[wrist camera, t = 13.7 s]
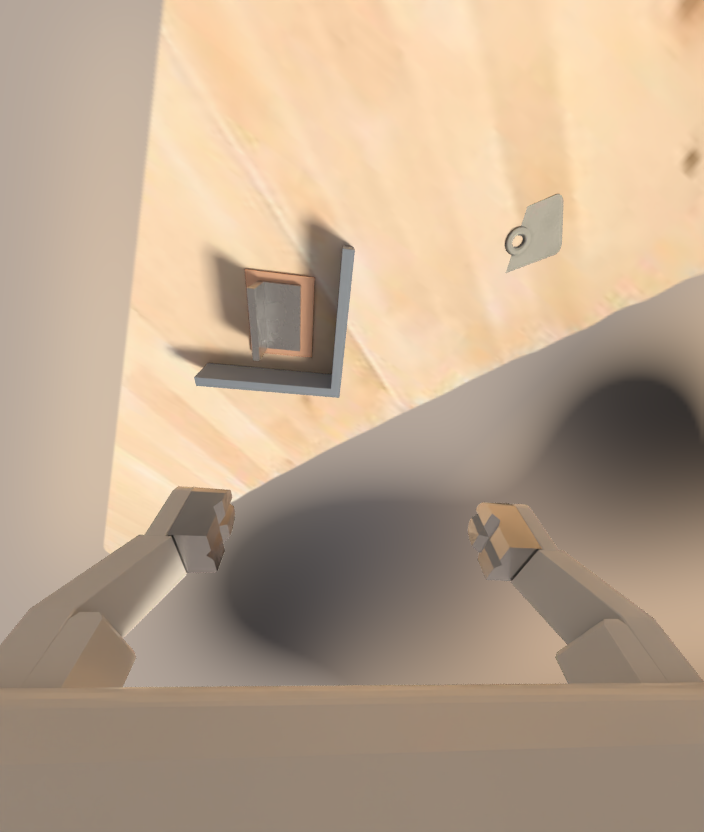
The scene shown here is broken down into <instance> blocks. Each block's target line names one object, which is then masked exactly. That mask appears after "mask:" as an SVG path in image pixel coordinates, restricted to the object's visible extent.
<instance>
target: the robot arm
mask: <svg viewBox="0 0 704 832" xmlns="http://www.w3.org/2000/svg"><path fill="white" fill-rule="evenodd" d="M231 499H232V494H231V490H224V489H211V488H198V487H181V486H178V487H177V488H175V489H174V490H173V491H172V493H171V494H170V496H169V497H168V499H167V501H166V502H165V504H164V505H163V507H162V508H161V510H160V512H159V513H158V515H157V516H156V518H155V519H154V521H153V523H152V524H151V526H150V527H149V529H148V530H147V532H146V534H145V535H138V536H137V537H135V538H134V539H132V540H131V541H129V542H128V543H126V544H125V545H123V546H122V547H120V548H119V549H117V550H116V551H114V552H113V553H111V554H110V555H109V556H107V557H106V558H104V559H103V560H101V561H100V562H98V563H97V564H95V565H94V566H92V567H91V568H89V569H88V570H86V571H85V572H84V573H82V574H80V575H79V576H77V577H76V578H74V579H73V580H72V581H70V582H69V583H67V584H66V585H64V586H63V587H61V588H60V589H58V590H57V591H55V592H54V593H52V594H51V595H49V596H48V597H46V598H45V599H43V600H42V601H41V602H39V603H38V604H36V605H35V606H33V607H32V608H30V609H29V610H28V612H27V613H26V614H25V615H24V616H23V618H22V619H21V620H20V621H19V623H18V624H17V625H16V626H15V628H14V629H13V630H12V631H11V633H10V634H9V635H8V636H7V637H6V639H5V640H4V641H3V642H2V643H1V645H0V832H704V681H703V680H702V679H701V677H700V676H699V675H698V673H697V672H696V671H695V670H694V668H693V667H692V666H691V665H690V663H689V662H688V661H687V659H686V658H685V657H684V656H683V655H682V653H681V652H680V651H679V649H678V648H677V647H676V646H675V644H674V643H673V642H672V641H671V639H670V638H669V637H668V635H667V634H666V633H665V632H664V630H663V629H662V628H661V627H660V625H659V624H658V623H657V622H656V620H655V619H654V618H653V617H651V616H650V615H649V614H647V613H646V612H645V611H643V610H642V609H641V608H639V607H638V606H637V605H635V604H634V603H633V602H631V601H630V600H629V599H627V598H626V597H625V596H623V595H622V594H621V593H619V592H618V591H617V590H615V589H614V588H613V587H611V586H610V585H609V584H608V583H606V582H605V581H603V580H602V579H601V578H599V577H598V576H597V575H596V574H594V573H593V572H591V571H590V570H589V569H587V568H586V567H584V565H582V564H581V563H580V562H578V561H577V560H575V559H574V558H573V557H571V556H570V555H569V554H568V553H566V552H565V551H562V550H558V548H557V546H556V545H555V543H554V542H553V540H552V539H551V537H550V536H549V535H548V533H547V532H546V530H545V529H544V527H543V526H542V524H541V523H540V521H539V520H538V518H537V517H536V515H535V514H534V512H533V511H532V509H531V508H530V507H529V506H527V505H524V504H509V503H485V502H484V503H481V504H479V505H478V507H477V509H476V510H477V512H478V514H477V515H475V516H474V517H472V518H471V520H470V522H469V524H468V535H469V540H470V542H471V545H472V546H473V547H474V548H475V549H476V550H477V551H478V552H479V555H478V559H477V560H478V562H479V564H480V566H481V569H482V572H483V574H484V577H485V579H486V580H504V581H511V583H512V584H513V585H514V586H515V588H516V589H517V590H518V591H519V592H520V593H521V594H522V595H523V596H524V597H525V599H527V601H528V602H529V603H530V604H531V605H532V606H533V607H534V608H535V609H536V610H537V612H538V613H539V614H540V615H541V616H542V617H543V618H544V619H545V620H546V622H548V624H549V625H550V626H551V627H552V628H553V629H554V630H555V631H556V633H557V634H558V635H559V636H560V637H561V638H562V639H563V640H564V641H565V642H566V644H567V646H565V647H564V648H562V649H561V650H559V651H558V652H557V654H556V657H555V658H556V660H557V662H558V664H559V666H560V668H561V670H562V672H563V674H564V676H565V678H566V680H567V682H568V684H465V685H464V684H463V685H462V684H456V685H455V684H452V685H343V686H342V685H341V686H340V685H338V686H229V687H228V686H223V687H222V686H219V687H123V685H124V683H125V681H126V679H127V676H128V674H129V672H130V670H131V668H132V665H133V663H134V661H135V659H136V655H135V652H134V651H133V649H132V648H131V647H130V646H129V645H128V644H127V643H126V641H125V640H124V639H123V638H124V637H125V636H126V635H127V634H128V633H129V632H130V631H131V630H132V629H133V628H134V627H135V626H136V625H137V624H138V623H139V622H140V621H141V620H142V619H143V618H144V617H145V616H146V615H147V614H148V613H149V612H150V611H151V610H152V609H153V608H154V607H155V606H156V605H157V604H158V603H159V602H160V601H161V600H162V599H163V598H164V597H165V596H166V595H167V594H168V593H169V592H170V591H171V590H172V589H173V588H174V587H175V586H176V585H177V584H178V583H179V582H180V581H181V580H182V579H183V578H184V577H185V576H186V575H187V574H186V573H191V572H193V573H194V572H195V573H201V572H203V573H204V572H206V573H207V572H208V573H210V572H212V573H214V572H215V573H216V572H217V571H218V569H219V566H220V563H221V560H222V558H223V555H224V552H225V548H224V544H223V542H225V541H226V540H227V539H228V538H229V537H230V535H231V532H232V529H233V525H234V520H235V510H234V506H233V505H231V504H230V502H231Z"/></svg>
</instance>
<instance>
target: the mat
mask: <svg viewBox="0 0 704 832" xmlns="http://www.w3.org/2000/svg"><path fill="white" fill-rule="evenodd" d="M245 279H246V290H247V287H249V286H250V285H252V284H253V283H255V282H256V281H258V280H262V281H271V282H280V283H288V284H297V285H301V349H300V351H292V350H281V349H271V348H267V350H266V352H265V353H270V354H280V355H291V356H301V357H312V333H313V307H314V280H315V277H307V276H298V275H290V274H282V273H274V272H266V271H257V270H249V269H245ZM247 302H248V299H247ZM248 313H249V310H248ZM249 325H250V321H249ZM250 337H251V333H250ZM251 348H252V344H251Z"/></svg>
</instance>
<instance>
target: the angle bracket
mask: <svg viewBox="0 0 704 832" xmlns="http://www.w3.org/2000/svg"><path fill="white" fill-rule="evenodd" d="M247 299H248V310H249V321H250V333H251V344H252V355H253V360H254V361H260V360H261V358H262V357H263V355H264V353H265V352H266V350H267V348H271V349H281V350H292V351H300V349H301V285H297V284H288V283H280V282H271V281H262V280H258V281H256V282H255V283H253V284H252V285H250V286H249V287H247Z"/></svg>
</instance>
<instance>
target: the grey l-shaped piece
mask: <svg viewBox="0 0 704 832" xmlns="http://www.w3.org/2000/svg"><path fill="white" fill-rule="evenodd" d="M354 252H355V250H354V248H353V247H349V246H343V248H342V260H341V272H340V284H339V296H338V308H337V320H336V332H335V344H334V356H333V368H332V374H323V373H312V372H301V371H290V370H279V369H268V368H258V367H247V366H236V365H225V364H214V363H207V364H206V366H205V367H204V368H203V369H202V370H201V371H200V372H199V373H198V374H197V375H196V376H195V377H194V378H195V383H196V386H206V387H218V388H230V389H242V390H254V391H266V392H278V393H289V394H301V395H313V396H325V397H337V398H339V396H340V386H341V377H342V367H343V358H344V348H345V338H346V329H347V319H348V310H349V300H350V291H351V281H352V272H353V262H354Z"/></svg>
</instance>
